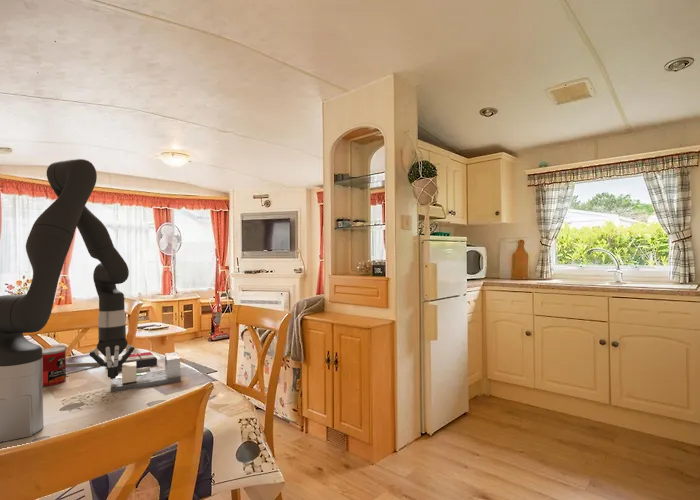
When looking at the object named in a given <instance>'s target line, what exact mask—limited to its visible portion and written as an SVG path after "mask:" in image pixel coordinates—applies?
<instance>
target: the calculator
mask: <svg viewBox="0 0 700 500" xmlns="http://www.w3.org/2000/svg"><path fill="white" fill-rule="evenodd" d="M124 355H125V354H122V355H119V358H118V360H120V359H121V358H122V357H123V356H124ZM111 357H112V366H113V364H114V356H111ZM135 361H136V369H137V368H142V367H143V368H144V367H148V366H149V367H154V366H153V365H155V366H157V365H158V358H157V357H156V356H155V355H154V354H153V353H152V352H151V351H149V352H147V351H146V352H139V353H131V355H130V356H129V357H128V358H127V360H126V361H125V362H124V363H128V362H135ZM119 372H121V373H122V364H120V365H119V366H118V373H119Z"/></svg>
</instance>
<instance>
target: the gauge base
mask: <svg viewBox="0 0 700 500" xmlns="http://www.w3.org/2000/svg"><path fill="white" fill-rule="evenodd" d="M164 361H165V362H164V367H165V369H162V370H155V371H150V372H144V373H137V381H135V382H129V383H122V375H120V376H116V378H115V379H111V384H110V393H111V394H112V393H119V392H124V391H125V392H126V391H129V390H130V391H131V390H137V389H143V388H149V387H156V386H162V385H167V384H168V385H169V384H173V383H180V382H182V377H181V356H180V354H179V352H178V351H175V352H166V353H164Z"/></svg>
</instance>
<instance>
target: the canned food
mask: <svg viewBox="0 0 700 500" xmlns="http://www.w3.org/2000/svg"><path fill="white" fill-rule="evenodd" d="M66 352H67V351H66V347H63V346H62V347H61V346H59V347H58V346H57V347H47V348H42V361H43V387H48V386H53V385H59V384H61V383H64V382H65V381H66V378H67V370H66V369H67V368H66V363H67V360H66V359H67V357H66V356H67V353H66Z"/></svg>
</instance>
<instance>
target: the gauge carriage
mask: <svg viewBox="0 0 700 500" xmlns="http://www.w3.org/2000/svg"><path fill="white" fill-rule="evenodd" d="M147 372H151V366H149V367H143V368H137V369H136V361H135V362H128V363H123V364H122V371H121V376H122V383H129V382H135V381H137V374H138V373H147Z"/></svg>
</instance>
